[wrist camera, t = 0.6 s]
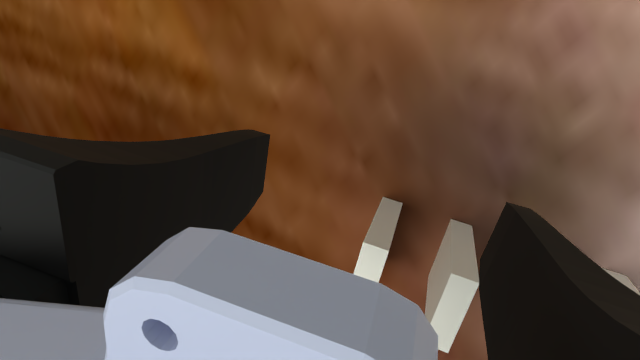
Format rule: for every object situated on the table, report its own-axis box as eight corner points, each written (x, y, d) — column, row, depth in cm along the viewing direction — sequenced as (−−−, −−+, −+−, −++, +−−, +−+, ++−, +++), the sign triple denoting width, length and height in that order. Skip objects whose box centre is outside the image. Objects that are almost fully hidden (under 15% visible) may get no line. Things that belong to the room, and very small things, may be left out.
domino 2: (448, 283, 24) (447, 353, 18) (428, 275, 24) (422, 342, 19) (472, 225, 22) (479, 283, 17) (450, 218, 22) (451, 273, 17)
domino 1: (383, 260, 25) (365, 320, 19) (365, 253, 25) (342, 311, 19) (402, 203, 23) (388, 251, 18) (382, 196, 23) (363, 242, 18)
